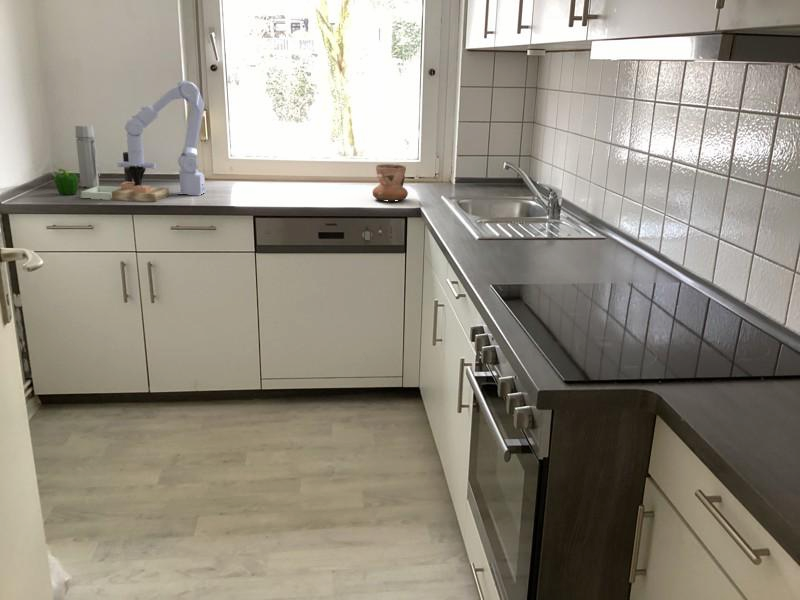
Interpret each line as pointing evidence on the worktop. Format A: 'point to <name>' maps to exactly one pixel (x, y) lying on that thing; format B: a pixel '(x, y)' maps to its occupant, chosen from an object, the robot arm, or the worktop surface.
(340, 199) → the worktop surface
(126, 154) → the deodorant
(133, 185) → the tile
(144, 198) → the board
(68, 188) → the bell pepper
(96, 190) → the tray
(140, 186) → the tile
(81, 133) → the water bottle
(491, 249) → the worktop surface
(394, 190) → the brown clay vase
